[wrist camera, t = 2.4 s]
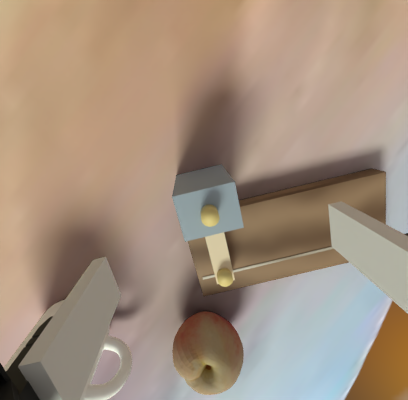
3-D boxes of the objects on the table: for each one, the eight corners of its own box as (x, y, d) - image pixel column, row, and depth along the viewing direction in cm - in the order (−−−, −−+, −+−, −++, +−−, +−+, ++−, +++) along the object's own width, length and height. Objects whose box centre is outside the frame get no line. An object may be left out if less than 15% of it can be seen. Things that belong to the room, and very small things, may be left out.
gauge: (176, 175, 27) (171, 201, 18) (221, 164, 27) (237, 185, 18) (201, 268, 31) (207, 326, 22) (241, 258, 31) (262, 313, 22)
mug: (145, 307, 32) (127, 389, 22) (134, 355, 34) (112, 449, 24) (47, 290, 30) (-20, 371, 21) (42, 342, 33) (-21, 437, 23)
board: (182, 213, 28) (182, 221, 26) (372, 168, 28) (386, 172, 26) (202, 285, 31) (203, 296, 29) (373, 245, 31) (386, 253, 29)
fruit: (217, 289, 32) (226, 342, 24) (245, 330, 34) (261, 391, 27) (163, 316, 33) (156, 376, 25) (194, 355, 35) (196, 420, 27)
